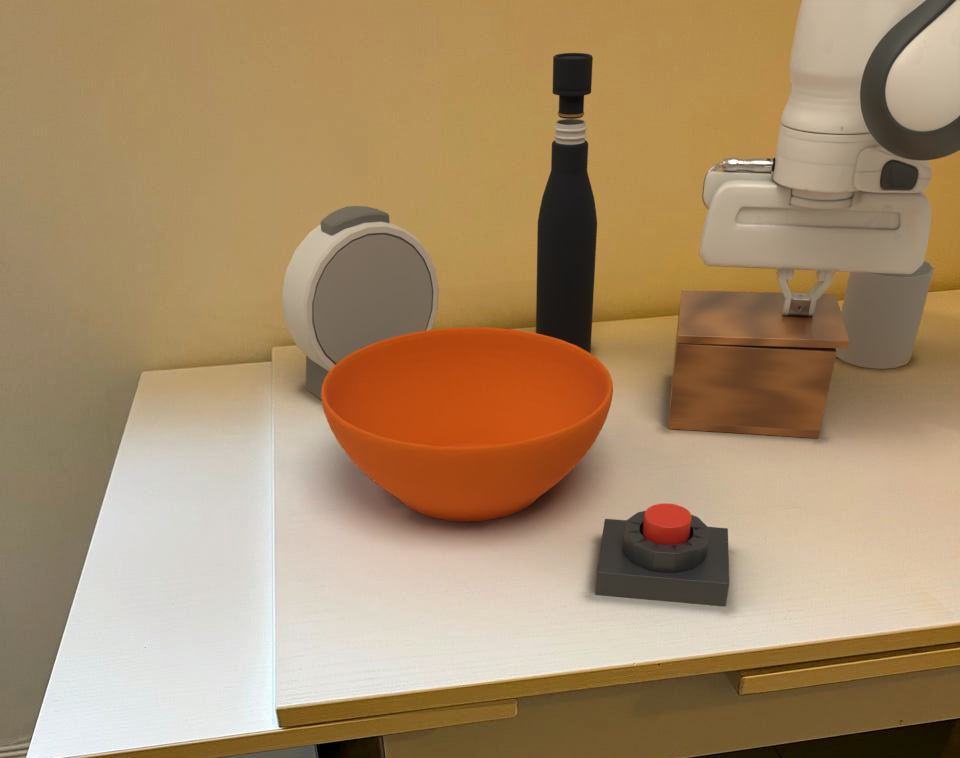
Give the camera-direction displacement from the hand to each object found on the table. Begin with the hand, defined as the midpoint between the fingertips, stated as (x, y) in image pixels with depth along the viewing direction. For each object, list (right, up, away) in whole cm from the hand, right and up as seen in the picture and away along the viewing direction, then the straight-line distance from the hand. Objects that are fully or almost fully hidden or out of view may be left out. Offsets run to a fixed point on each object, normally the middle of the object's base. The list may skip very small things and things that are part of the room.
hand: (797, 314), depth 97 cm
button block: (-16, -26, -17) cm, 35 cm away
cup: (+14, +1, +17) cm, 22 cm away
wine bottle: (-21, +2, +19) cm, 29 cm away
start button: (-16, -24, -19) cm, 34 cm away
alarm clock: (-43, -4, +13) cm, 45 cm away
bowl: (-32, -17, -5) cm, 37 cm away
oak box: (-4, -7, +7) cm, 11 cm away
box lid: (-3, 0, +1) cm, 4 cm away
